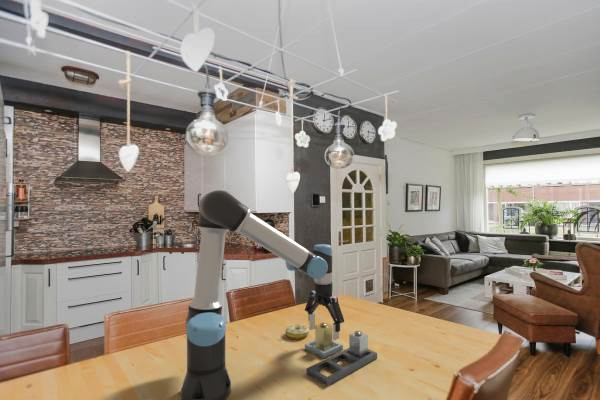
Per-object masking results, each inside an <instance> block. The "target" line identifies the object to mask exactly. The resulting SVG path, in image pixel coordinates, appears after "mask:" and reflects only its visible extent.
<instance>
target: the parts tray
mask: <svg viewBox="0 0 600 400" xmlns="http://www.w3.org/2000/svg"><path fill="white" fill-rule="evenodd" d="M332 346H333V348H331V349H329V350H327V351H325V352H323V351H321V350H319V349H317V348H315V339H314V340H312V341H309V342H306V343H305V344H304V349H305V350H306V351H308V352H310V353H312V354H314V355H316V356H318V357H320V358H322V359H323V360H325V359H327V358H329V357H331V356H333V355H335V354H338V353H340V352H342V351H344V344H342V343H340V342H337V341H336V340H335V341H334V340H333V339H332Z"/></svg>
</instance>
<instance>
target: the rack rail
mask: <svg viewBox="0 0 600 400" xmlns="http://www.w3.org/2000/svg"><path fill="white" fill-rule="evenodd" d="M377 358H378V353H377V352H376V351H374V350H372V349H369V348H368V355H367V356H365V357H363V358H361V359H360V358H357V357H355V356H353V355H351V354H350V347H347V348H346V349H343V350H341V351H339V352H337V353H335V354H333V355H331V356H329V357H327V358H325V359H323V360H320V361H318V362H317V363H314V364H312V365H310V366H308V367H307V368H306V375H307V376H308V377H310V378H312V379H314V380H316V381H317V382H319V383H320V384H322V385H324V386H326V387H329V386H331V385H332V384H333V385H334V384H335V383H336V382H337V381H338V382H339V380H341V379H344V378H345V377H347V376H348V375H350V374H352V373H354V372H355V371H357V370H359V369H361V368H363V367H364V366H367V365H368V364H370V363H371V362H373V361H375V360H377ZM342 360H343V361H346V362H348V363H349V364H348V365H346V366H343V365H341V364H339V363H338V362H340V361H342ZM326 368H327V369H329V370H331V371H332V372H333V373H331V374H329V375H325V374H323V373H321V372H320V371H322V370H324V369H326Z"/></svg>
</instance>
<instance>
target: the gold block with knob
mask: <svg viewBox="0 0 600 400" xmlns="http://www.w3.org/2000/svg"><path fill="white" fill-rule="evenodd" d="M314 331H315V332H314V338H315V339H314V340H315V348H317V349H319V350H321V351H323V352H325V351H327V350H329V349H331V348H333V346H332V340H333V325H331V324H328V323H326V322H321V323H319V324H317V325H316V324H315V329H314Z"/></svg>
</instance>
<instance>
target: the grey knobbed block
mask: <svg viewBox="0 0 600 400" xmlns="http://www.w3.org/2000/svg"><path fill="white" fill-rule="evenodd" d="M348 335H349V338H348V339H349V345H348V346H349V348H350V354H351V355H353V356H355V357H357V358H360V359H361V358H363V357H365V356H367V355H368V349H369V336H368V334H367V333H364V332H362V330H361V331H360V330H356V331H354V332H352V333H350V334H348Z"/></svg>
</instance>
